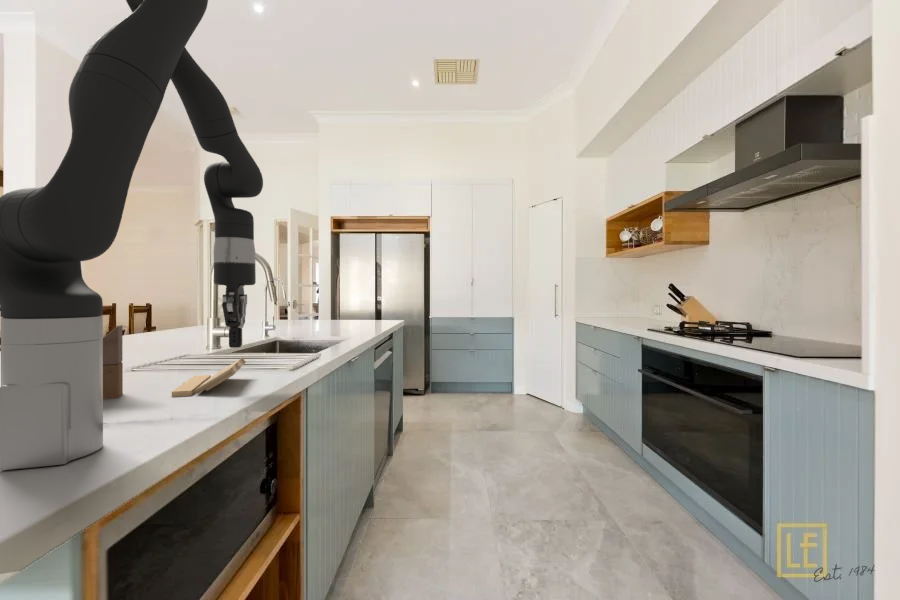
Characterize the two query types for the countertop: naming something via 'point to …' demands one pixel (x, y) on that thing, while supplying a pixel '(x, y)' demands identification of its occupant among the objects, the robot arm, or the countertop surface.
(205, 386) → the board
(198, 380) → the floor section
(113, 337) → the wooden block
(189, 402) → the countertop surface
